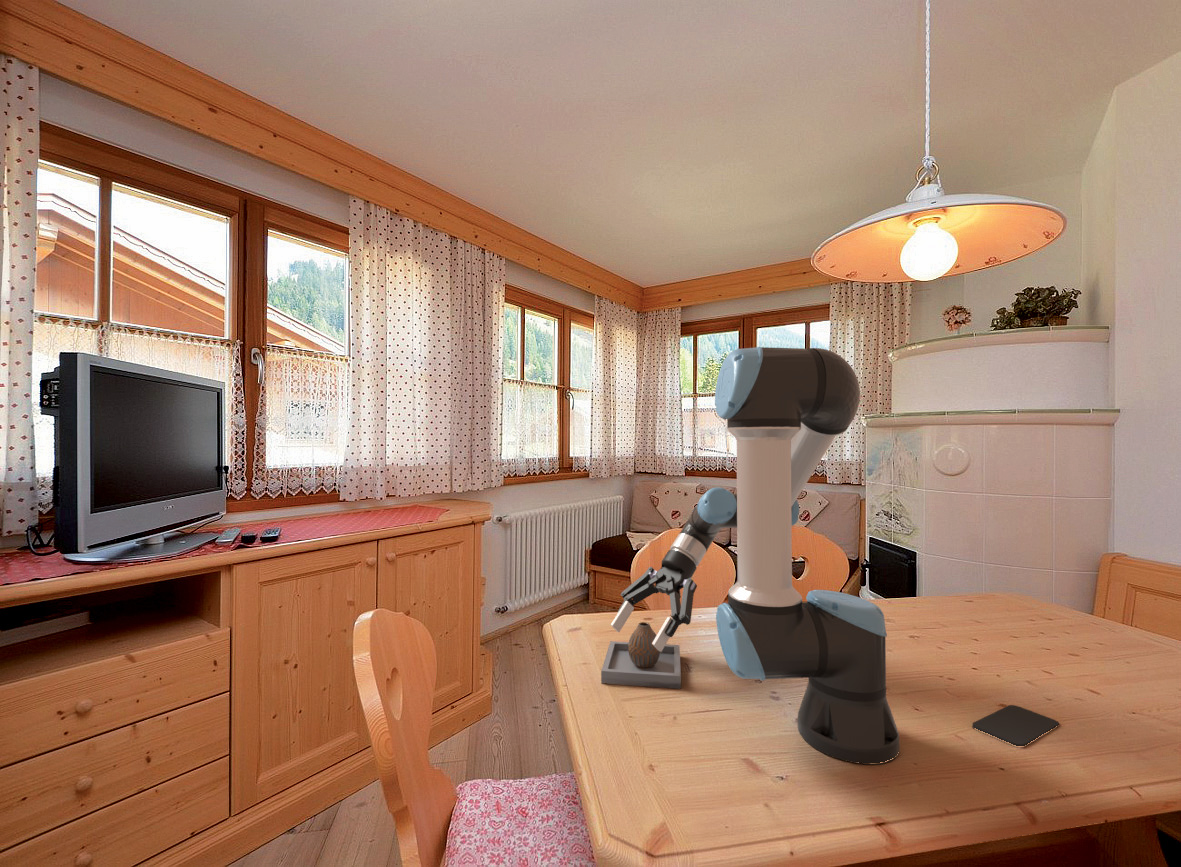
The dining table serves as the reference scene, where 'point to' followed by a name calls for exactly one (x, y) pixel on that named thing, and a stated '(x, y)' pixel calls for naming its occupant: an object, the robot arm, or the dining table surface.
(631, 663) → the tray
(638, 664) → the vase
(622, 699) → the dining table surface
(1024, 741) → the phone
